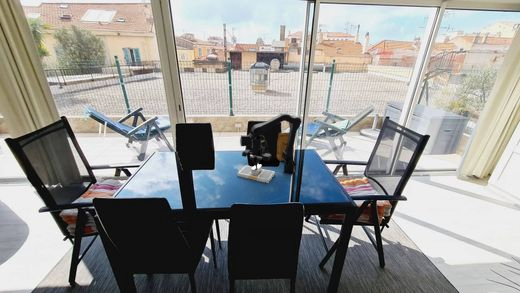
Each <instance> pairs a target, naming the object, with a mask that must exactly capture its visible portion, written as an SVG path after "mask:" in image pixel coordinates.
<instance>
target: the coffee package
mask: <svg viewBox="0 0 520 293" xmlns="http://www.w3.org/2000/svg"><path fill="white" fill-rule="evenodd" d="M288 136H289V131H288V132H286V131H285V132H279V133H278V137H277V144H276V159H277V160H278V161H280V162H281V161H283V162H284V160H283V158H282V151H285V150H286V147H287V141H288ZM294 148H295V146H294V147H293V156H294V153H295V149H294Z"/></svg>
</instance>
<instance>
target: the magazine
mask: <svg viewBox="0 0 520 293" xmlns="http://www.w3.org/2000/svg"><path fill="white" fill-rule="evenodd" d="M261 145H262V147H265V149H264V152H263V153H261V154H263V155H264V154H265V153H267V154H270V152H269V146H268V143H267V140H265V138H264V139H263V140H262V139H261Z"/></svg>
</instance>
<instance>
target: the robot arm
mask: <svg viewBox="0 0 520 293" xmlns="http://www.w3.org/2000/svg"><path fill="white" fill-rule="evenodd" d="M283 121H284V122H287V123H288V126H289V131H288V132H289V136H288V141H287V147H286V150H285V151H282V158H283V162H285V163H284V165H283V166H284V167H283V174H288V175H294V173H295V172H296V168H295V167H296V166H297V162H296V161H295V160H294V156H293V147H294V148H295V140H296V138H297V132H298V130H299V128H300V126H301V124H302V119H301V118H300V117H298V116H297V115H296V114H292V115H291V114H288V113H285V112H281V113H280V114H278V115H276V116H274V117H272V118H270V119H268V120H266V121H264V122H260V123H257V124H254V125H253V126H252V127H251V130H250V131H249V133H248V135H240V137H239V138H240V140H239V143H240V144H239V145H240V147H250V146H251V148H250V149H245V150H243V151H242V152H241V157H245V158H246V157H247V156H250V157H249V159H250V160H251V161H252V162H253V164H254V166H255V167H257V166H258V164H259V163H260V161H261V160H263V161H264V162H269V161H270V160H271V159H272V156H273V155H272V154H271V153H269V154H267V153H265V154H264V155H263V154H261V153H263V152H264V149H265V147H262V145H261V141H262V139H263V140H264V139H265V136H264V135H263V134H265V132H266V131H268V130H269V129H270V128H273V127H274V126H277V125H278V124H281V123H283ZM259 165H260V164H259Z"/></svg>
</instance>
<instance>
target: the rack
mask: <svg viewBox="0 0 520 293" xmlns="http://www.w3.org/2000/svg"><path fill="white" fill-rule="evenodd" d="M253 167H254V166H250V165H248V164H245V165H244V166H243V167H242V168H241V169H240V170H239V171H238V172H237V176H238V177H241V178H245V179H250V180H255V181H257V182H262V183H265V182H266V184H269V183H270V182H271V181H272V179H273V178H272V177H274V176H275V174H276V172H275V171H273V170H270V169H269V170H268V169H264V168H262V172H261V173H260V174H259V176H258V177H257V176H252V175H251V169H252V168H253ZM269 181H270V182H269Z"/></svg>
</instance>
